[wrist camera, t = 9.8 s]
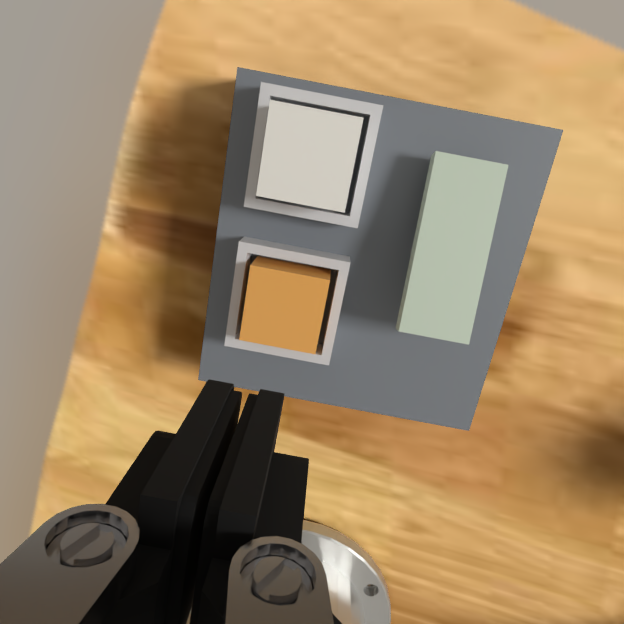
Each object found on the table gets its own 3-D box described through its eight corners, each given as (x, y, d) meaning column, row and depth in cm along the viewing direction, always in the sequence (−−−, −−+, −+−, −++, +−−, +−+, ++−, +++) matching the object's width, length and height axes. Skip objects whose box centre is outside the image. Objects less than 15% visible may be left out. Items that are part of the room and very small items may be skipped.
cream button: (343, 207, 20) (345, 212, 18) (263, 192, 20) (255, 195, 18) (360, 121, 19) (363, 117, 17) (276, 105, 19) (269, 99, 17)
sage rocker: (463, 341, 20) (469, 344, 20) (395, 328, 20) (398, 331, 20) (500, 168, 20) (508, 164, 19) (431, 155, 20) (436, 150, 19)
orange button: (317, 337, 23) (315, 354, 21) (247, 324, 23) (239, 340, 21) (330, 269, 22) (330, 280, 20) (257, 255, 22) (250, 264, 20)
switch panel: (454, 401, 27) (476, 445, 22) (213, 356, 26) (190, 392, 22) (534, 133, 23) (578, 127, 18) (250, 78, 22) (230, 60, 18)
